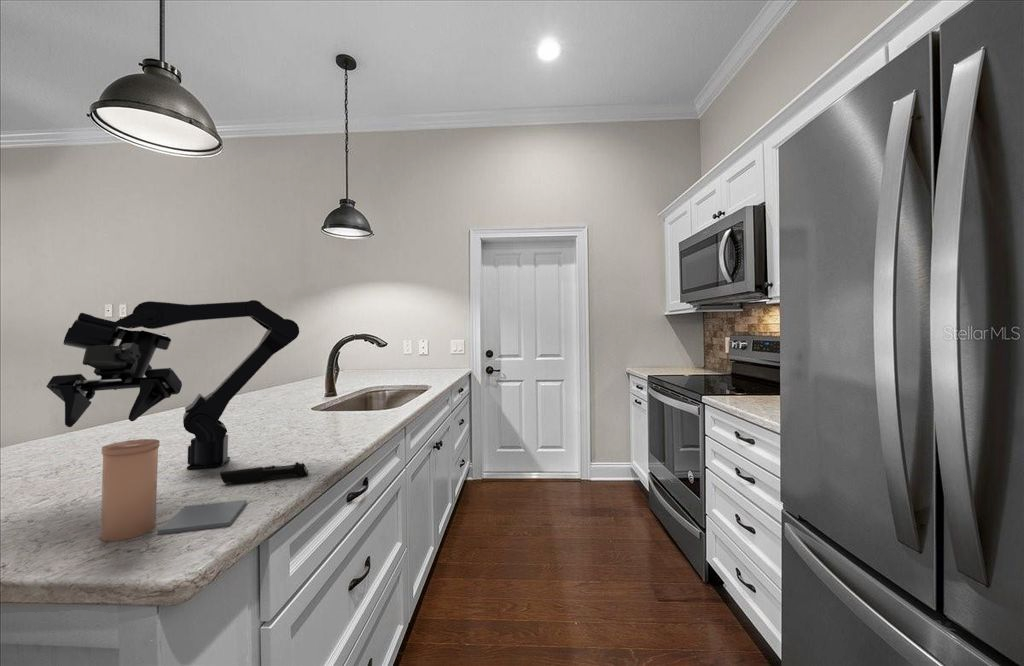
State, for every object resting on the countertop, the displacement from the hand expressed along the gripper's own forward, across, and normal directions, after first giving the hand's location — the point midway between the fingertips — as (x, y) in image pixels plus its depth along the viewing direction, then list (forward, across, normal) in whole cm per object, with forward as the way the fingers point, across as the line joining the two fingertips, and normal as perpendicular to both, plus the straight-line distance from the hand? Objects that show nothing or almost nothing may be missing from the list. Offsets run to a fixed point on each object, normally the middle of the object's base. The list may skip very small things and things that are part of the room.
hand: (99, 423), depth 72 cm
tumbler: (+22, +12, -3) cm, 25 cm away
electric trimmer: (+9, +25, +13) cm, 30 cm away
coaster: (+20, +21, 0) cm, 30 cm away
